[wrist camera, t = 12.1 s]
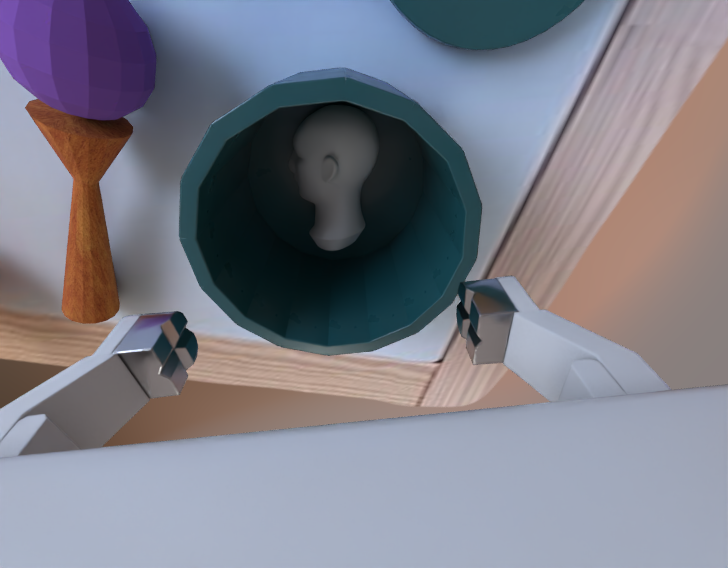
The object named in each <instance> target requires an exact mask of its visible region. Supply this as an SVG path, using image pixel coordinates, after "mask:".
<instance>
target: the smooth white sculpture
mask: <svg viewBox="0 0 728 568" xmlns="http://www.w3.org/2000/svg"><path fill="white" fill-rule="evenodd" d="M293 147H294V150H293V152H292V155H291V157H290V160H289V168H290V170H291V171H292V172H294V173H295V180H296V181H297V182H298V187H299V193H300V196H301V197H302V198H304V199H305V200H307V201H310V202H312V203H314V204H315V224H314V226H313V227H312V229H311V230H310V232H309V234H310V235H311V237H312V238H313V240H314V241H315V243H316V244H317V246H318V247H320V248H322V249H324V250H330V251H334V250H340V249H343V248H345V247H347V246H349V245H351V244H352V243H354V242H355V241H356V239H357V238H358V236H359V235H360V233H361V232H362V231H363V229H364V228H365V221H364V218H363V216H362V212H361V205H360V194H361V188H362V185H363V183H364V182H365V180H366V179H367V177H368V176H369V175H370V173H371V171H372V169H373V167H374V165H375V163H376V160H377V156H378V151H379V138H378V133H377V129H376V127H375V125H374V123H373V121H372V120H371V119H370V117H369V116H368V115H367V114H365V113H364V112H363V111H361V110H359V109H357V108H354V107H351V106H346V105H328V106H325V107H322V108H320V109H319V110H317V111H315V112H314V113H312V114H311V115H309V116H308V117H307V118H306V119H305V120H304V121H303V122H302V123H301V124H300V126H299V127H298V129H297V130H296V132H295V135H294V138H293Z"/></svg>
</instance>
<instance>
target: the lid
mask: <svg viewBox="0 0 728 568" xmlns="http://www.w3.org/2000/svg"><path fill="white" fill-rule="evenodd" d="M390 1H391V2H392V3H393V5H394V6H395V7H396V9H397V10H398V11H399V12H400V13H401V14H402V15H403V16H404V17H405V18H406V19H407V20H408V21H409V22H410V23H411V24H412V25H413V26H414V27H416V28H417V29H418V30H420V31H421V32H423V33H424V34H425V35H427V36H429V37H431V38H433V39H435V40H437V41H439V42H441V43H443V44H446V45H449V46H453V47H456V48H461V49H469V50H493V49H498V48H504V47H509V46H512V45H515V44H518V43H521V42H524V41H527V40H529V39H531V38H533V37H535V36H537V35H539V34H541V33H543V32H545V31H546V30H548V29H549V28H551V27H553V26H554V25H556V24H557V23H559V22H560V21H562V20H563V19H564V18H565V17H566V16H568V15H569V14H570V13H571V12H573V11H574V10H575V9H576V8H577V7H579V6H580V5H581V3H582V2H583V1H584V0H390Z"/></svg>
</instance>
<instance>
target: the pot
mask: <svg viewBox="0 0 728 568" xmlns="http://www.w3.org/2000/svg"><path fill="white" fill-rule="evenodd" d="M328 105H346V106H351V107H354V108H357V109H359V110H361V111H363V112H364V113H365V114H367V115H368V116H369V117H370V119H371V120H372V121H373V123H374V125H375V127H376V129H377V133H378V138H379V151H378V156H377V160H376V163H375V165H374V167H373V169H372V171H371V173H370V175H369V176H368V177H367V179H366V180H365V182H364V183H363V185H362V188H361V194H360V205H361V212H362V216H363V218H364V221H365V228H364V229H363V231H362V232H361V233H360V235H359V236H358V238H357V239H356V241H355V242H354V243H352V244H351V245H349V246H347V247H345V248H343V249H340V250H334V251H330V250H324V249H322V248H320V247H318V246H317V244H316V243H315V241H314V240H313V238H312V237H311V235H310V234H309V232H310V230H311V229H312V227H313V226H314V224H315V204H314V203H312V202H310V201H307V200H305V199H304V198H302V197H301V196H300V193H299V187H298V182H297V181H296V180H295V173H294V172H292V171H291V170H290V168H289V160H290V157H291V155H292V152H293V150H294V147H293V138H294V135H295V132H296V130H297V129H298V127H299V126H300V124H301V123H302V122H303V121H304V120H305V119H306V118H307V117H308V116H309V115H311V114H312V113H314V112H315V111H317V110H319V109H320V108H322V107H325V106H328ZM481 215H482V203H481V200H480V197H479V194H478V191H477V188H476V185H475V182H474V179H473V177H472V174H471V171H470V168H469V165H468V162H467V159H466V156H465V153H464V151H463V150H462V148H461V147H460V146H459V145H458V144H457V143H456V142H455V141H454V140H453V139H452V138H451V137H450V136H449V135H448V134H447V133H446V132H445V131H444V130H443V129H442V128H441V126H440V125H439V124H438V123H437V122H436V121H435V120H434V119H433V118H432V117H431V116H430V115H429V114H428V113H427V112H426V111H425V110H424V109H423V108H422V107H421V106H420V105H419V104H418V103H417V102H415V101H414V100H412V99H411V98H409V97H408V96H406V95H405V94H403V93H402V92H400V91H399V90H397V89H396V88H394V87H393V86H391V85H390V84H388V83H386V82H384V81H381V80H378V79H375V78H373V77H370V76H367V75H365V74H361V73H359V72H356V71H353V70H350V69H348V68H336V69H326V70H317V71H308V72H300V73H297V74H295V75H293V76H290V77H288V78H286V79H283V80H281V81H278V82H276V83H274V84H271V85H269V86H267V87H266V88H264V89H263V90H261V91H260V92H258V93H257V94H255V95H254V96H252V97H251V98H249V99H247V100H246V101H244V102H243V103H241V104H240V105H238V106H237V107H235V108H234V109H232V110H231V111H229V112H228V113H226V114H224V115H223V116H221V117H220V118H218V119H217V120H215V121H214V122H212V124H211V125H210V126H209V128H208V130H207V132H206V133H205V135H204V137H203V139H202V141H201V143H200V144H199V146H198V148H197V150H196V152H195V153H194V155H193V157H192V159H191V161H190V163H189V164H188V166H187V168H186V170H185V172H184V173H183V175H182V177H181V181H180V216H179V237H180V241H181V244H182V246H183V248H184V251H185V253H186V255H187V258H188V260H189V262H190V265H191V267H192V269H193V272H194V274H195V276H196V279H197V281H198V283H199V286H200V287H201V289H202V290H203V291H204V292H205V293H206V294H207V295H208V296H209V297H210V298H211V299H212V300H213V301H214V302H215V303H216V304H217V305H218V306H219V307H220V308H221V309H222V310H223V311H224V312H225V313H226V314H227V315H228V316H229V317H230V318H231V319H232V320H233V321H234V322H235V323H236V324H237V325H238V326H240V327H242V328H244V329H246V330H248V331H250V332H252V333H254V334H256V335H258V336H260V337H262V338H264V339H266V340H268V341H270V342H271V343H273V344H275V345H277V346H281V347H284V348H289V349H294V350H300V351H305V352H311V353H316V354H321V355H327V356H330V355H340V354H350V353H360V352H370V351H374V350H377V349H380V348H382V347H384V346H387V345H389V344H392V343H394V342H397V341H399V340H401V339H404V338H406V337H409V336H411V335H413V334H416V333H418V332H419V331H420V330H422V329H423V328H424V327H425V326H426V325H427V324H429V323H430V322H431V321H432V320H433V319H434V318H436V317H437V316H438V315H439V314H440V313H441V312H443V311H444V310H445V309H446V308H447V307H448V306H450V305H451V304H452V303H453V301H454V299H455V298H456V296H457V294H458V288H459V284H460V282H464V281H465V279H466V278H467V276H468V274H469V272H470V270H471V269H472V267H473V265H474V263H475V261H476V259H477V253H478V244H479V234H480V224H481Z"/></svg>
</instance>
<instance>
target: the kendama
mask: <svg viewBox="0 0 728 568" xmlns="http://www.w3.org/2000/svg"><path fill="white" fill-rule="evenodd" d="M0 58H1V60H2V62H3V63H4V65H5V66H6V68H7V70H8V71H9V73H10V74H11V75H12V77H13V78H14V79H15V80H16V81H17V82H18V83H20V84H21V85H22V86H23V87H24V88H26V89H27V90H28V91H29V92H31V93H32V94H33V95H34V96H35V97H37V98H38V99H36V100H33V101H29V103H28V104H27V106H26V107H25V108H26V110H27V111H28V113H29V114H30V116H31V117H32V119H33V120H34V122H35V123H36V125H37V126H38V128H39V129H40V131H41V132H42V133H43V135H44V136H45V138H46V139H47V141H48V142H49V144H50V145H51V147H52V148H53V149H54V151H55V152H56V154H57V155H58V157H59V158H60V160H61V161H62V163H63V164H64V166H65V167H66V168H67V170H68V171H69V173H70V174H71V176H72V177H73V179H74V181H73V192H72V202H71V213H70V224H69V235H68V245H67V256H66V267H65V277H64V288H63V299H62V311H63V313H64V315H65V316H66V317H67V318H69V319H70V320H72V321H75V322H79V323H83V324H86V323H99V322H103V321H106V320H108V319H110V318H112V317H113V316H115V315H116V313H117V312H118V311H119V307H120V302H119V296H118V290H117V284H116V279H115V273H114V267H113V262H112V256H111V250H110V244H109V239H108V233H107V227H106V221H105V216H104V210H103V204H102V199H101V193H100V187H99V181H100V179H101V178H102V176H103V175H104V174H105V172H106V171H107V169H108V168H109V166H110V165H111V164H112V162H113V161H114V159H115V158H116V156H117V155H118V153H119V152H120V151H121V149H122V148H123V146H124V145H125V143H126V142H127V141H128V139H129V138H130V136H131V135H132V133H133V126H132V125H131V124H130V123H129V121H128V120H127V119H125V118H123V116H125V115H127V114H129V113H131V112H133V111H135V110H137V109H139V108H141V107H143V106H144V104H145V102H146V101H147V99H148V98H149V96H150V94H151V93H152V91H153V90H154V88H155V75H156V52H155V49H154V46H153V43H152V40H151V37H150V34H149V31H148V28H147V26H146V24H145V23H144V22H143V20H142V19H141V17H140V16H139V15H138V13H137V12H136V10H135V9H134V8H133V6H132V5H131V3H130V2H129V1H128V0H0Z"/></svg>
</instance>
